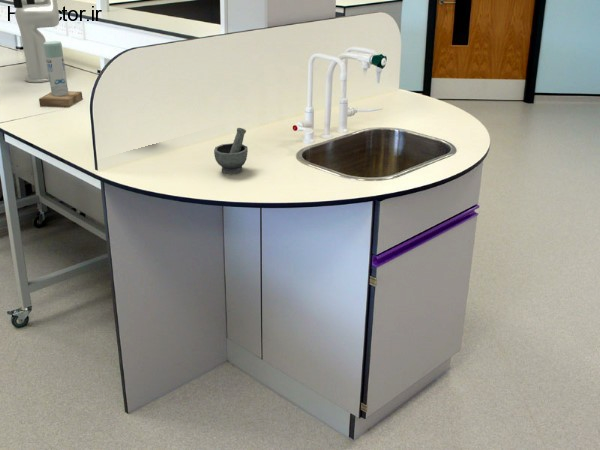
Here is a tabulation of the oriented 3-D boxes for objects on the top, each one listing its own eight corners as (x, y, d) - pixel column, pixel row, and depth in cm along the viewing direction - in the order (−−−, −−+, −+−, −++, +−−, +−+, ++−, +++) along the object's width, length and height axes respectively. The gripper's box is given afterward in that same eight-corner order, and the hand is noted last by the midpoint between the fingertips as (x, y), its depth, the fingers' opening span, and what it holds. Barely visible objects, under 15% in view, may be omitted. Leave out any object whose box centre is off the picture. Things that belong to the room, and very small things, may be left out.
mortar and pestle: (233, 179, 203) (230, 139, 197) (208, 172, 208) (206, 133, 202) (258, 167, 211) (256, 128, 206) (234, 161, 216) (232, 123, 211)
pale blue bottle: (71, 95, 277) (63, 43, 268) (54, 97, 273) (45, 44, 265) (66, 91, 282) (58, 40, 273) (49, 93, 278) (41, 42, 270)
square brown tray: (54, 98, 285) (53, 90, 284) (82, 99, 283) (81, 91, 282) (40, 106, 274) (38, 98, 273) (69, 107, 272) (68, 99, 271)
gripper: (19, -43, 281) (27, 2, 288) (-5, -39, 265) (4, 9, 273) (37, -43, 280) (44, 2, 287) (14, -39, 264) (22, 9, 272)
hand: (24, 6), depth 280 cm, fingers open, 9 cm apart
